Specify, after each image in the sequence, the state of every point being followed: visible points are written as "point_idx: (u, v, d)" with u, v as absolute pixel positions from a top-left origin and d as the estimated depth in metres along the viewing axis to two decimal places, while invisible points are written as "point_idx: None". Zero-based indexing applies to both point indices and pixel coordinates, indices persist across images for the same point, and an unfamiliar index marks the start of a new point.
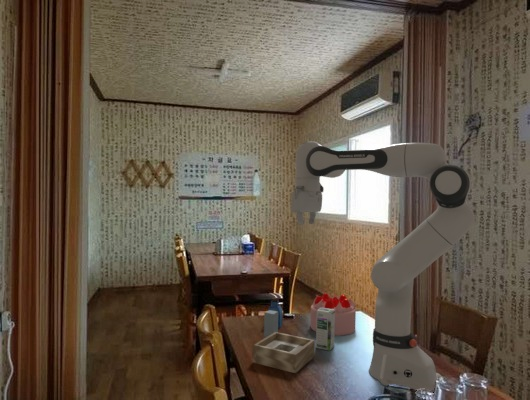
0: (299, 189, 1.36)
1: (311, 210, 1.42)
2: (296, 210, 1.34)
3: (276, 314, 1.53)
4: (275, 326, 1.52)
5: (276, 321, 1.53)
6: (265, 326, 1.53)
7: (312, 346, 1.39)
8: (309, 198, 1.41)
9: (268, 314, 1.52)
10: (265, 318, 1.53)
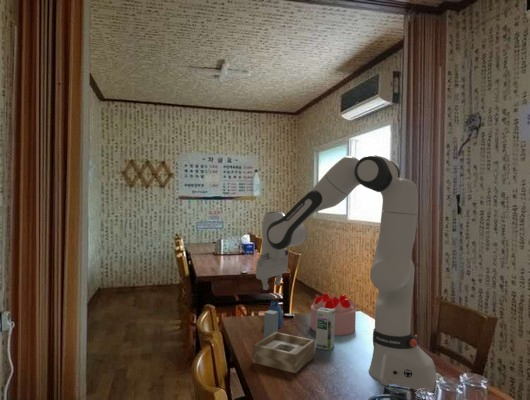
0: (263, 257, 1.47)
1: (276, 274, 1.53)
2: (260, 278, 1.45)
3: (276, 314, 1.53)
4: (275, 326, 1.52)
5: (276, 321, 1.53)
6: (265, 326, 1.53)
7: (312, 346, 1.39)
8: (274, 264, 1.52)
9: (268, 314, 1.52)
10: (265, 318, 1.53)
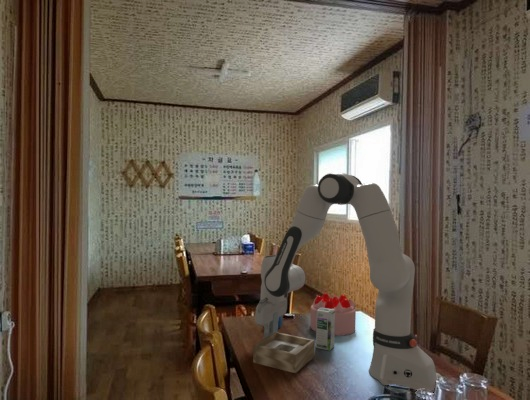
0: (262, 303, 1.47)
1: None
2: (259, 324, 1.45)
3: (276, 314, 1.53)
4: (275, 326, 1.52)
5: (276, 321, 1.53)
6: None
7: (312, 346, 1.39)
8: (273, 307, 1.52)
9: None
10: None
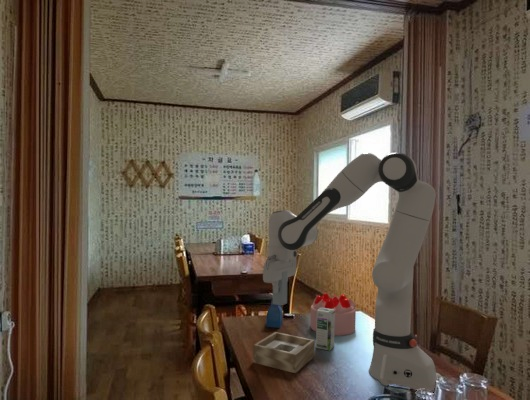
0: (271, 259, 1.38)
1: None
2: (268, 281, 1.36)
3: (285, 273, 1.44)
4: (284, 285, 1.43)
5: (285, 281, 1.44)
6: None
7: (312, 346, 1.39)
8: (282, 266, 1.43)
9: None
10: None
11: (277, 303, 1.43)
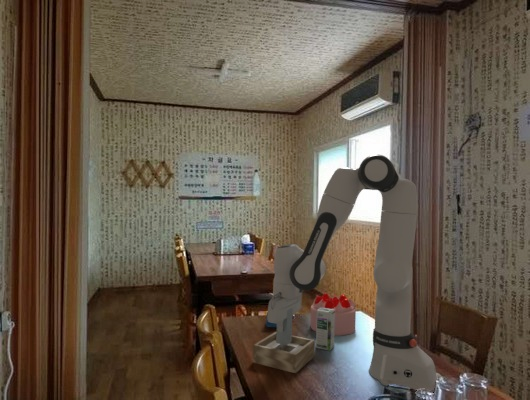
0: (276, 298, 1.30)
1: None
2: (272, 321, 1.29)
3: (290, 311, 1.37)
4: (289, 324, 1.36)
5: (290, 319, 1.37)
6: None
7: (312, 346, 1.39)
8: (287, 303, 1.35)
9: None
10: None
11: (281, 342, 1.36)
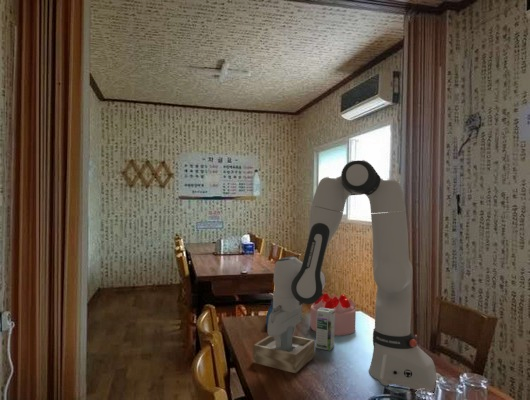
0: (276, 311, 1.30)
1: None
2: (272, 335, 1.28)
3: (290, 328, 1.37)
4: (289, 341, 1.36)
5: (290, 336, 1.37)
6: None
7: (312, 346, 1.39)
8: (287, 316, 1.35)
9: None
10: None
11: None
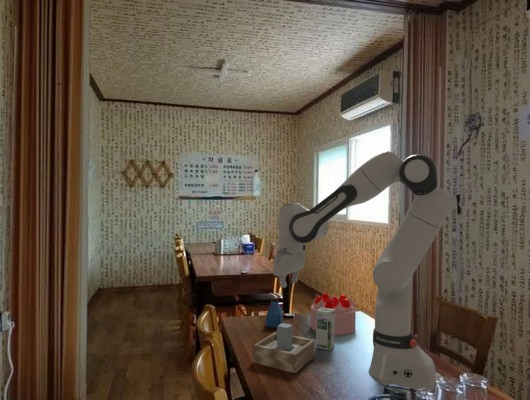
0: (281, 252, 1.36)
1: (294, 271, 1.42)
2: (278, 274, 1.34)
3: (290, 328, 1.37)
4: (289, 341, 1.36)
5: (290, 336, 1.37)
6: (277, 341, 1.36)
7: (312, 346, 1.39)
8: (291, 259, 1.41)
9: (281, 328, 1.36)
10: (278, 333, 1.36)
11: None
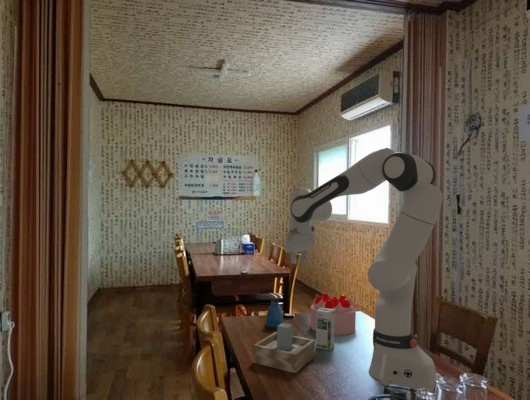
0: (292, 232, 1.52)
1: (303, 249, 1.58)
2: (289, 251, 1.50)
3: (290, 328, 1.37)
4: (289, 341, 1.36)
5: (290, 336, 1.37)
6: (277, 341, 1.36)
7: (312, 346, 1.39)
8: (301, 239, 1.57)
9: (281, 328, 1.36)
10: (278, 333, 1.36)
11: None
